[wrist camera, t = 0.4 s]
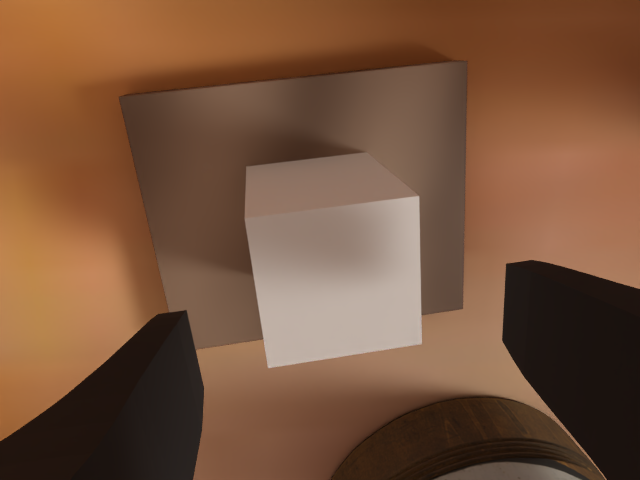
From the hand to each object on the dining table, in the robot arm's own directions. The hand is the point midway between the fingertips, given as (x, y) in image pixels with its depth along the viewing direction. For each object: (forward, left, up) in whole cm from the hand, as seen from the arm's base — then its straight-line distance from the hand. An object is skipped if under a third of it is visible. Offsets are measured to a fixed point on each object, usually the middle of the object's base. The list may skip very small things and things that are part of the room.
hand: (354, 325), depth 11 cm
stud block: (0, 0, -9) cm, 9 cm away
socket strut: (0, 0, -8) cm, 8 cm away
